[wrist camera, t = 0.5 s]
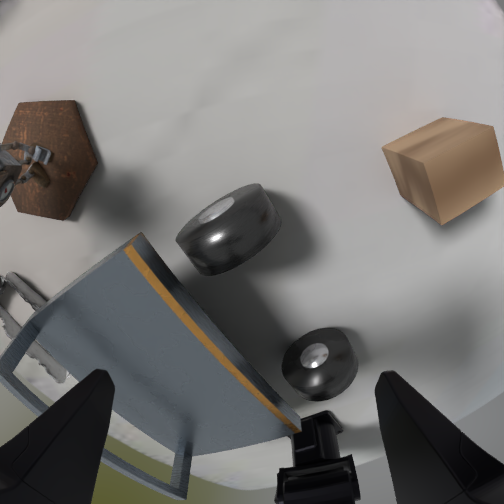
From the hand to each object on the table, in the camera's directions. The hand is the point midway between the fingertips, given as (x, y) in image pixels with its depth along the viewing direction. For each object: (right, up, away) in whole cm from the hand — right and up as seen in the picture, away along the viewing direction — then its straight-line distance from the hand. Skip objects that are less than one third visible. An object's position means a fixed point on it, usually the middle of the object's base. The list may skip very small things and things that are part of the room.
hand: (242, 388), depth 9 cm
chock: (+13, +11, +10) cm, 20 cm away
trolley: (-3, -1, +16) cm, 17 cm away
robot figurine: (-16, +12, +10) cm, 23 cm away
